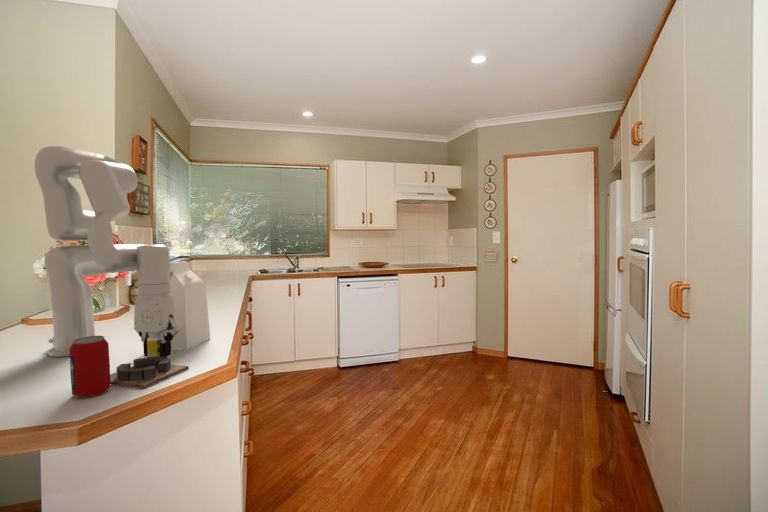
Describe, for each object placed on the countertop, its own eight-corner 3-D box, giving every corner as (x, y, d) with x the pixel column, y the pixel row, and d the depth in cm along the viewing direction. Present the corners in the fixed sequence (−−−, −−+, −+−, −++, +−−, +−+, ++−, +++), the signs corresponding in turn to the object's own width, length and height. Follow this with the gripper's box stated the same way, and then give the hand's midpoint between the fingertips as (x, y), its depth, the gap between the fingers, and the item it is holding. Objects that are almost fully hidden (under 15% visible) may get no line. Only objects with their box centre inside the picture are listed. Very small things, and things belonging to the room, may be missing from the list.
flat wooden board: (96, 383, 89) (95, 370, 89) (145, 364, 102) (144, 353, 101) (144, 388, 85) (143, 375, 85) (188, 368, 98) (188, 357, 98)
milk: (178, 338, 128) (175, 260, 127) (210, 338, 127) (207, 260, 125) (152, 348, 116) (148, 263, 115) (186, 349, 115) (183, 263, 113)
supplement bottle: (158, 363, 103) (157, 332, 102) (143, 362, 104) (142, 331, 103) (171, 357, 107) (170, 328, 107) (157, 356, 108) (155, 327, 108)
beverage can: (86, 387, 86) (83, 335, 86) (117, 386, 87) (115, 334, 86) (63, 400, 80) (60, 343, 79) (98, 398, 80) (94, 342, 80)
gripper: (117, 291, 103) (121, 357, 104) (168, 292, 98) (171, 362, 99) (142, 287, 110) (145, 349, 111) (190, 288, 106) (193, 353, 107)
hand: (157, 354), depth 105 cm, fingers closed on supplement bottle, 4 cm apart
